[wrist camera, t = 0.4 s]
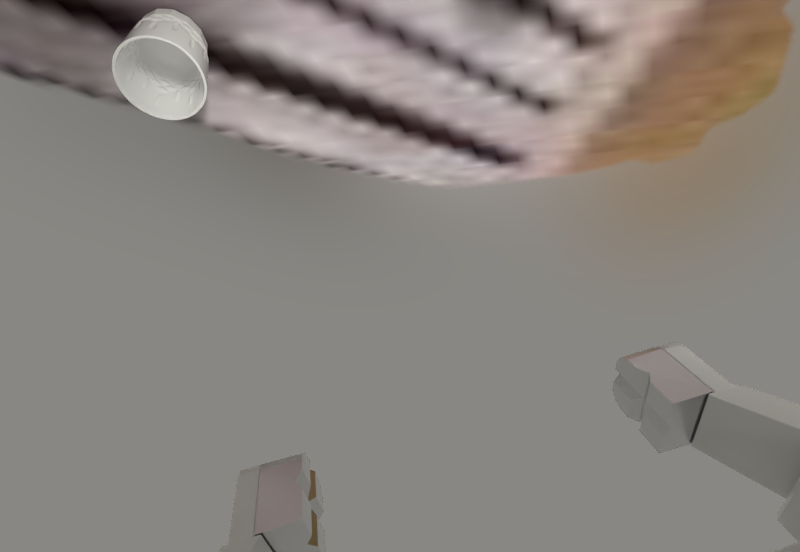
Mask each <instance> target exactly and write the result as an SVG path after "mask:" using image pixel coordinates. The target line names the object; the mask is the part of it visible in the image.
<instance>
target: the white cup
mask: <svg viewBox="0 0 800 552" xmlns="http://www.w3.org/2000/svg"><path fill="white" fill-rule="evenodd" d="M112 73H113V77H114V80H115V82H116V84H117V86H118V88H119V90H120V91H121V93H122V94H123V95H124V96H125V98H126V99H127V100H128V101H129V102H130V103H131V104H133V105H134V106H135V107H136V108H138V109H139V110H141V111H143V112H144V113H146V114H148V115H151V116H153V117H156V118H159V119H164V120H182V119H186V118H189V117H191V116H193V115H195V114H196V113H197V112H198V111H199V110H200V109H201V108H202V106H203V105H204V103H205V100H206V96H207V85H208V44H207V42H206V40H205V37H204V35H203V33H202V30H201V29H200V28H199V27H198V26H197V25H196V24H195V23H194V22H193V21H192V20H191V19H190V18H189V17H188V16H186V15H184V14H182V13H180V12H178V11H176V10H174V9H159V8H157V9H155V10H153V11H151V12H150V13H148V14H146V15H144V17H143V18H142V19H141V20H140V21H139V22H138V23H137V24H136V25H135V26H134V27H133V28H132V30H131V31H130V32H129V33H128V34H127V36H126V37H125V38H124V40H123V41H122V42H121V44H120V45H119V46H118V48H117V49H116V51H115V53H114V55H113V58H112Z"/></svg>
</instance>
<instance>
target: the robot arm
mask: <svg viewBox="0 0 800 552" xmlns="http://www.w3.org/2000/svg"><path fill="white" fill-rule="evenodd" d="M616 370H617V371H618V372H619V373H620V374H619V375H618V376H617V378H616V379H615V380H614V382H613V393H614V396H615V400H616V402H617V403H618V405H619V407H620V408H621V410H622V411H623V412H624V413H625V414H626V416H627V417H629V418H632V419H634V420H636V421H638V422H639V430H640V432H641V433H642V434H643V435H644V436H645V438H646V439H647V440H648V441H649V442H650V443H651V445H652V446H653V447H654V448H655V449H656V450H657V451H658V453H661V452H665V451H668V450H672V449H675V448H679V447H682V446H685V445H689V444H692V445H691V446H692V447H694V448H696V449H698V450H700V451H702V452H703V453H705V454H707V455H709V456H711V457H712V458H714V459H716V460H718V461H719V462H721V463H723V464H725V465H727V466H728V467H730V468H732V469H734V470H736V471H737V472H739V473H741V474H743V475H745V476H746V477H748V478H750V479H752V480H754V481H755V482H757V483H759V484H761V485H763V486H764V487H767V488H768V489H770V490H772V491H773V492H775V493H777V494H779V495H781V496H782V497H784V498H786V500H785V502H784V503H783V505H782V507H781V508H780V510H779V511H778V514H777V515H778V516H777V518H778V519H777V520H778V521H779V522H780V523H781V524H782V525H783V526H784V527H785V528H786V529H787V530H788V532H789V533H791V535H792V536H793V537H794V538H795V539H796V540H797V541H798V542H797V543H794V544H792V545H789V546H786V547H783V548H780V549H778V550H775V551H772V552H800V405H798V404H795V403H792V402H789V401H786V400H783V399H780V398H778V397H774V396H772V395H769V394H766V393H763V392H760V391H757V390H754V389H751V388H749V387H746V386H743V385H736V386H733V385H732V384H731V383H730V382H729V381H727V380H726V379H725V378H724V377H722V376H721V375H720V374H718V373H717V372H716V371H715V370H714V369H712V368H711V367H710V366H708V365H707V364H706V363H705V362H704V361H702V360H701V359H700V358H699V357H697V356H696V355H695V354H694V353H692V352H691V351H690V350H688V349H687V348H686V347H685V346H684V345H682V344H680V343H678V342H672V343H668V344H665V345H662V346H659V347H656V348H650V349H647V350H644V351H641V352H637V353H634V354H631V355H628V356H625V357H622V358H620V359H619V360H618V361H617V363H616ZM322 513H323V498H322V492H321V486H320V483H319V479H318V477H317V475H316V472H315V471H312V470H310V460H309V458H308V456H307V455H306V453H302V454H298V455H295V456H291V457H287V458H284V459H280V460H276V461H273V462H269V463H265V464H261V465H258V466H255V467H251V468H247V469H244V470H241V471H240V474H239V476H238V478H237V484H236V492H235V499H234V506H233V513H232V520H231V527H230V535H229V542H228V544H227V545H225V546H222V547H221V548H220V550H219V551H218V552H326V549H325V530H324V528H323V526H322V525H321V523H320V521H319V519H320V517H321V515H322Z"/></svg>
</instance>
